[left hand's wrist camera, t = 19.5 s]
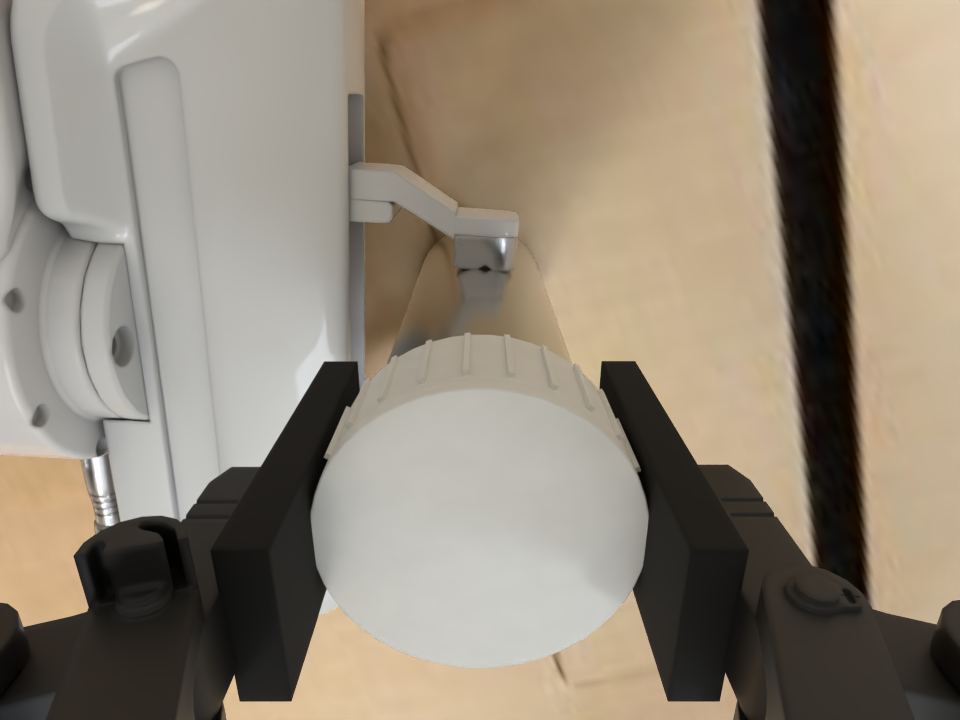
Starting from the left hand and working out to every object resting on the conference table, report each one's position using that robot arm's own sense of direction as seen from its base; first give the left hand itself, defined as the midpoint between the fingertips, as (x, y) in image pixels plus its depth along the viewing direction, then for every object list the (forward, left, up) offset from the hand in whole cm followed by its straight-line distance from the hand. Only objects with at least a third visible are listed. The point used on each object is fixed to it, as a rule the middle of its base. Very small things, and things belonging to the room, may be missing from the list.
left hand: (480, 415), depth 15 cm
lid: (0, 0, +4) cm, 4 cm away
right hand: (-1, 0, -5) cm, 5 cm away
